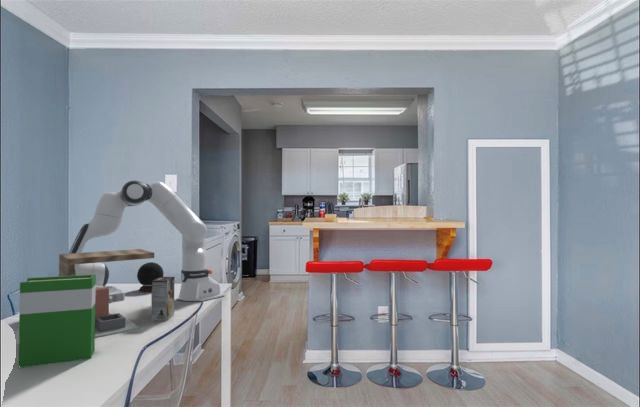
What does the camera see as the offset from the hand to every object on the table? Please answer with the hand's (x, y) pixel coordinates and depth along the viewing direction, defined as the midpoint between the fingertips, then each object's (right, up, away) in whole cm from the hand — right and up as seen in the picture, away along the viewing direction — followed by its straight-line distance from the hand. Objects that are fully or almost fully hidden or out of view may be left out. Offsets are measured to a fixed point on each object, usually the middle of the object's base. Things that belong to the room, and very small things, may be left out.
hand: (101, 302), depth 153 cm
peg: (-1, -6, +1) cm, 7 cm away
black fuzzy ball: (-5, -8, +55) cm, 56 cm away
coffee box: (+23, -7, +4) cm, 24 cm away
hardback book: (+9, -7, -38) cm, 40 cm away
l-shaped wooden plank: (+9, -7, -10) cm, 15 cm away
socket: (+9, -7, -10) cm, 15 cm away
